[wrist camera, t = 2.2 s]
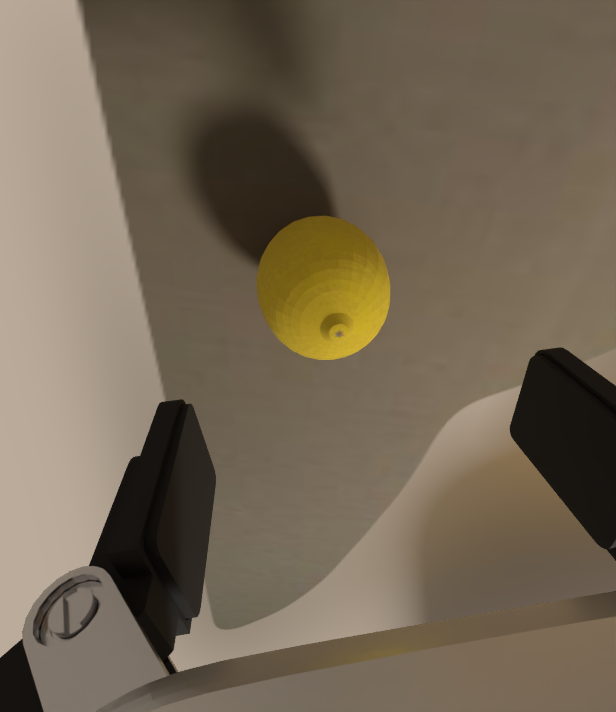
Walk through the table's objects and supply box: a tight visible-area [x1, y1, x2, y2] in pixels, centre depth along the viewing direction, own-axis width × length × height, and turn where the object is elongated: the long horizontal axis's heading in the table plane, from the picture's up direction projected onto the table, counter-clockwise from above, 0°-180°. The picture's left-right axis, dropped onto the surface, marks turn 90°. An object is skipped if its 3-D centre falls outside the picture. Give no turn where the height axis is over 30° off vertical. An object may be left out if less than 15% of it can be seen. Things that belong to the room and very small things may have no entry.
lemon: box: [257, 215, 390, 360], centre depth 16 cm, size 6×6×8 cm
